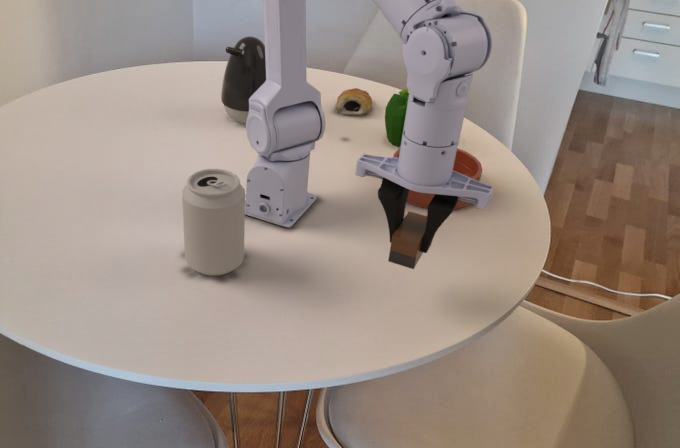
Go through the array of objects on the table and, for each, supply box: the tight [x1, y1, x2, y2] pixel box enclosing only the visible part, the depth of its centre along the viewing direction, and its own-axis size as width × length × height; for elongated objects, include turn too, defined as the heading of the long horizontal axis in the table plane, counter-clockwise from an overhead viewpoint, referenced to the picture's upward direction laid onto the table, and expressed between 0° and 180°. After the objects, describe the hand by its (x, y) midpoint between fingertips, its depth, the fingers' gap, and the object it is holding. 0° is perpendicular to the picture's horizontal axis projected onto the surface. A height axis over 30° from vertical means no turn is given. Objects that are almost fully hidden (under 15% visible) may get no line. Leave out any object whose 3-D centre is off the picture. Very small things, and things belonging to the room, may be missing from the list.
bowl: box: [392, 147, 483, 210], centre depth 99 cm, size 13×13×4 cm
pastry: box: [335, 87, 373, 117], centre depth 125 cm, size 9×7×4 cm
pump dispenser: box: [220, 35, 266, 125], centre depth 115 cm, size 10×10×15 cm
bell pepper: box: [384, 88, 409, 148], centre depth 111 cm, size 8×8×10 cm
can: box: [181, 168, 246, 277], centre depth 79 cm, size 8×8×12 cm
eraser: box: [387, 211, 427, 270], centre depth 73 cm, size 6×3×4 cm, turn 153°
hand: (410, 243), depth 74 cm, fingers closed on eraser, 3 cm apart
